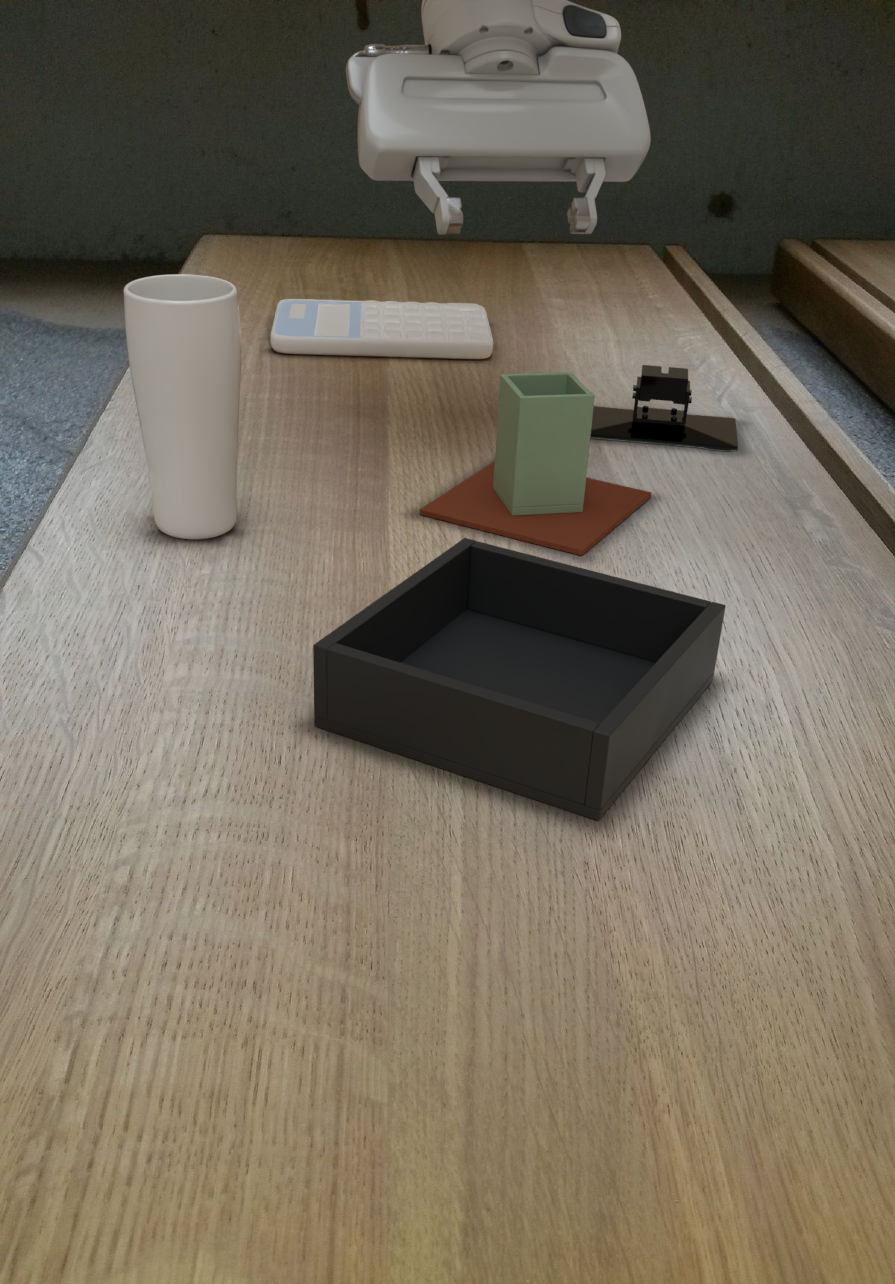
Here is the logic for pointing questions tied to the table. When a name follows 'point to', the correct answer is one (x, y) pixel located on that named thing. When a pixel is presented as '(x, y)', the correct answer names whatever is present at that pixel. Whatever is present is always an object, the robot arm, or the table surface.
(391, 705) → the bin
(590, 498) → the mat
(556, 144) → the robot arm
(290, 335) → the calculator
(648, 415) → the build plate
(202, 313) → the drinking glass
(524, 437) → the box
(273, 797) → the table surface
